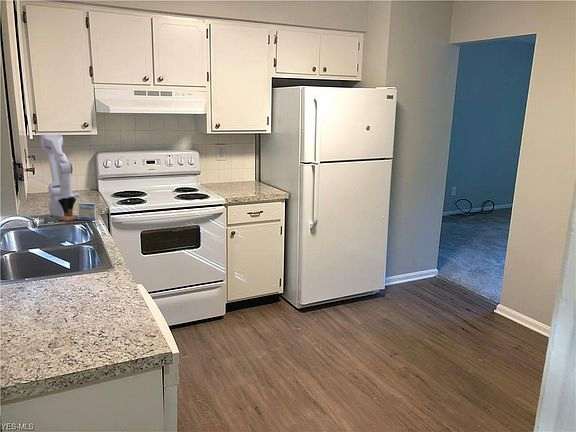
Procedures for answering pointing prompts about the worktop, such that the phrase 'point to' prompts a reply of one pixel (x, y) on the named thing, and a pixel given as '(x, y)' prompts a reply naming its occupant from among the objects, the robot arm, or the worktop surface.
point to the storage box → (51, 218)
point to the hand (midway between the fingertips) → (68, 212)
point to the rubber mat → (69, 220)
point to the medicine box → (87, 211)
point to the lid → (68, 216)
